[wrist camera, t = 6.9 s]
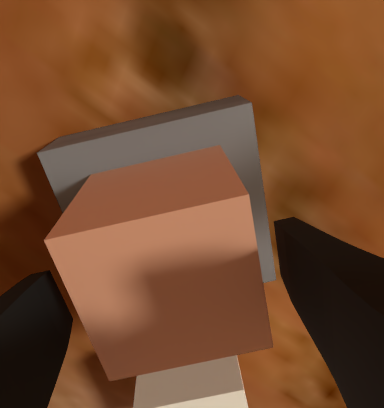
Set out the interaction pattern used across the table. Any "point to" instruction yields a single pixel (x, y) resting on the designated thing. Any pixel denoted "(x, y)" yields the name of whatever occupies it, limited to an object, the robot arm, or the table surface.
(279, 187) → the table surface
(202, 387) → the off-white cube
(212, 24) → the table surface
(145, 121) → the gray slab
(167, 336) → the terracotta cube
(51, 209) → the table surface
